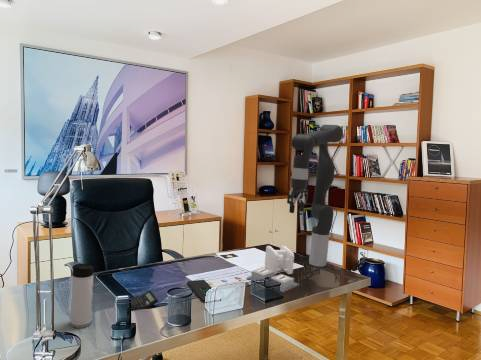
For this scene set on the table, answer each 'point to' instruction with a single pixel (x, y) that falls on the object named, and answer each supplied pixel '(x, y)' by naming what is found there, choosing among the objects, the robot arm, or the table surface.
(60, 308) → the table surface
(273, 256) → the cable organizer
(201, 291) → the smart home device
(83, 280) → the travel mug
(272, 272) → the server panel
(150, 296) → the calculator
